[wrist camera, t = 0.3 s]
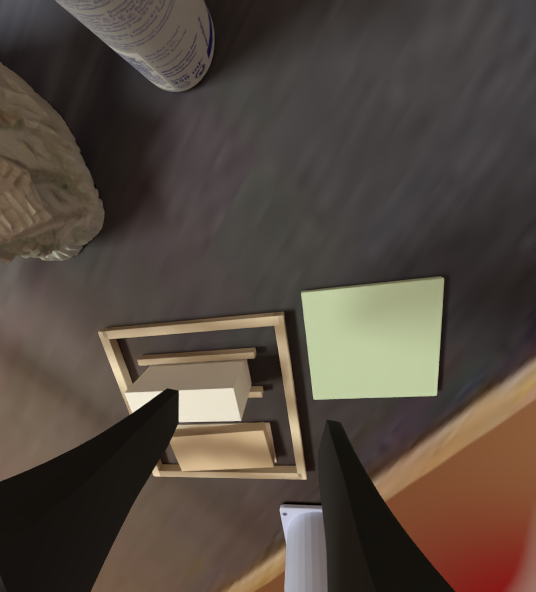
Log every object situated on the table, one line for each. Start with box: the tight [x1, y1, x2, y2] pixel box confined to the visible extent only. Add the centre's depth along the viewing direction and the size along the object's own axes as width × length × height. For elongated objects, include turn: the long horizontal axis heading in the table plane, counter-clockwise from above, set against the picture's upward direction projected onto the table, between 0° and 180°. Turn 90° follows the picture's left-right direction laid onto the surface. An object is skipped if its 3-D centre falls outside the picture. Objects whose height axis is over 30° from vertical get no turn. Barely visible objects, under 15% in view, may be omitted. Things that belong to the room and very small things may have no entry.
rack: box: [98, 312, 306, 479], centre depth 24 cm, size 18×17×1 cm
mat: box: [301, 276, 444, 400], centre depth 20 cm, size 10×10×1 cm
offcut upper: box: [170, 422, 275, 471], centre depth 26 cm, size 5×10×1 cm, turn 104°
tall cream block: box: [125, 359, 252, 422], centre depth 22 cm, size 3×9×4 cm, turn 99°
